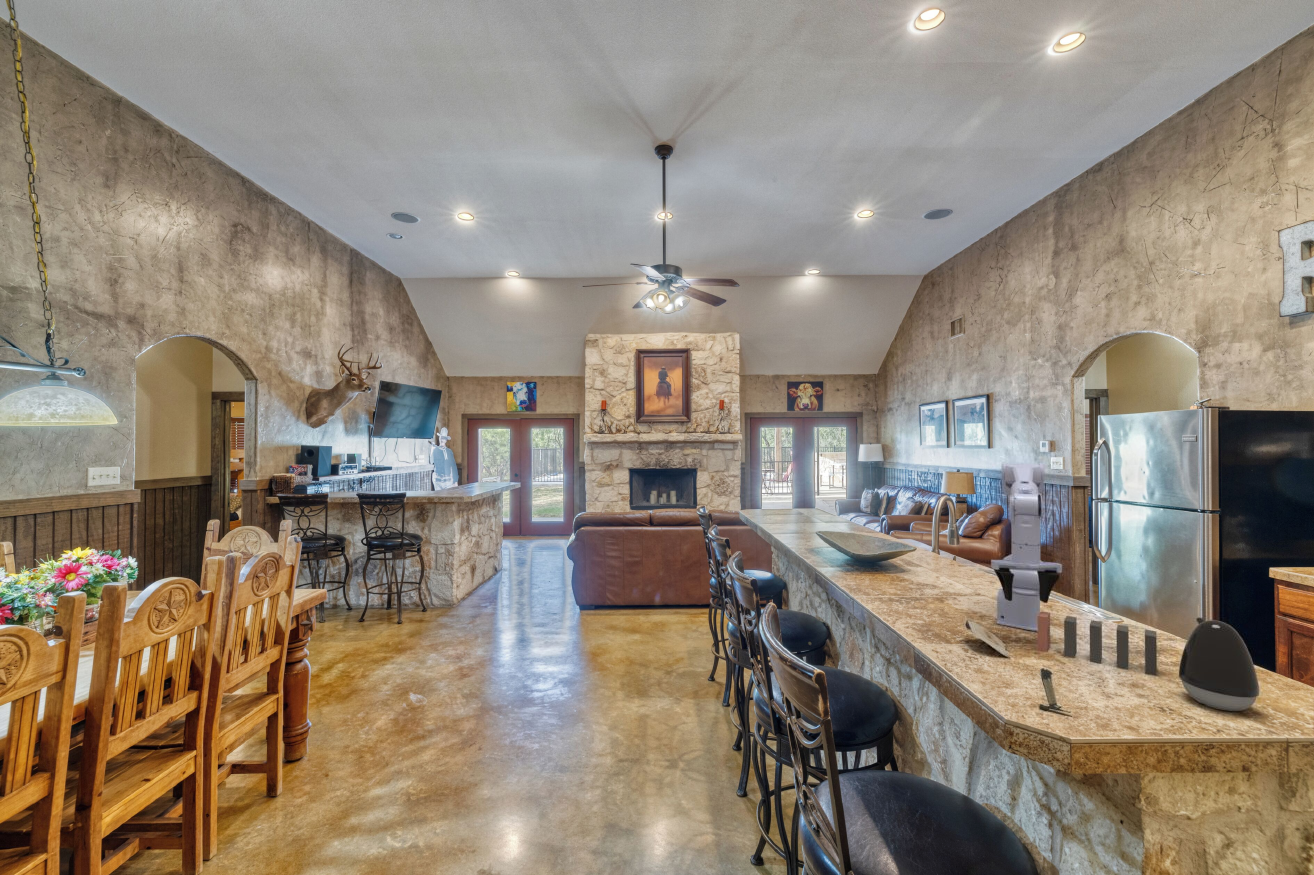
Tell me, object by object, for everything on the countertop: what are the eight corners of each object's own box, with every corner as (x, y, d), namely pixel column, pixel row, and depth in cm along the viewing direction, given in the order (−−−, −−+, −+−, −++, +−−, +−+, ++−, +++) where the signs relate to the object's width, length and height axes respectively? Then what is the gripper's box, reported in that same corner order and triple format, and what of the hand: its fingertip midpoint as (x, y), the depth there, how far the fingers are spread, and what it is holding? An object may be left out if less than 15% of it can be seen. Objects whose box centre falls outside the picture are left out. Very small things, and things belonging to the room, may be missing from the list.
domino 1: (1064, 656, 121) (1064, 620, 122) (1066, 650, 125) (1066, 615, 125) (1074, 658, 120) (1074, 622, 120) (1076, 652, 124) (1076, 617, 124)
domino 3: (1116, 667, 115) (1116, 629, 115) (1117, 661, 119) (1117, 624, 119) (1127, 669, 114) (1127, 631, 114) (1128, 663, 118) (1128, 626, 118)
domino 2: (1089, 661, 118) (1089, 624, 118) (1091, 655, 122) (1091, 620, 122) (1100, 663, 117) (1100, 626, 117) (1102, 657, 121) (1101, 621, 121)
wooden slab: (1014, 668, 125) (970, 630, 134) (1024, 657, 124) (978, 619, 133) (991, 667, 119) (946, 627, 128) (1001, 654, 118) (955, 616, 127)
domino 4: (1145, 673, 112) (1144, 634, 112) (1145, 666, 116) (1145, 629, 116) (1156, 676, 111) (1156, 636, 111) (1156, 669, 115) (1156, 631, 115)
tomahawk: (1086, 727, 91) (1087, 720, 91) (1039, 712, 95) (1039, 706, 95) (1077, 682, 109) (1077, 676, 109) (1036, 671, 112) (1037, 666, 112)
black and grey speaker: (1234, 696, 102) (1232, 615, 102) (1275, 722, 92) (1274, 632, 92) (1166, 688, 105) (1165, 609, 105) (1199, 712, 95) (1198, 625, 96)
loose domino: (1050, 646, 127) (1050, 612, 127) (1047, 652, 123) (1046, 617, 124) (1040, 645, 128) (1040, 611, 129) (1037, 650, 125) (1037, 615, 125)
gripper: (1000, 545, 126) (1000, 603, 126) (1069, 548, 124) (1069, 607, 123) (987, 540, 133) (987, 595, 133) (1052, 542, 131) (1052, 599, 130)
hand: (1025, 600), depth 129 cm, fingers open, 7 cm apart
